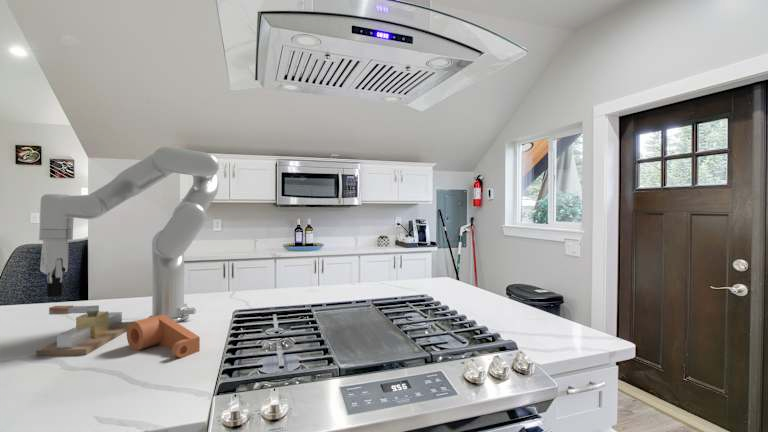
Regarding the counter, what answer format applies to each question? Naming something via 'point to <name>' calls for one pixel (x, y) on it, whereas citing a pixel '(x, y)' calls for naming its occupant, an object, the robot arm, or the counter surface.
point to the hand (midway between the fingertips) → (54, 295)
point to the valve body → (88, 328)
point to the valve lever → (73, 309)
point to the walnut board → (85, 343)
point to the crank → (162, 335)
